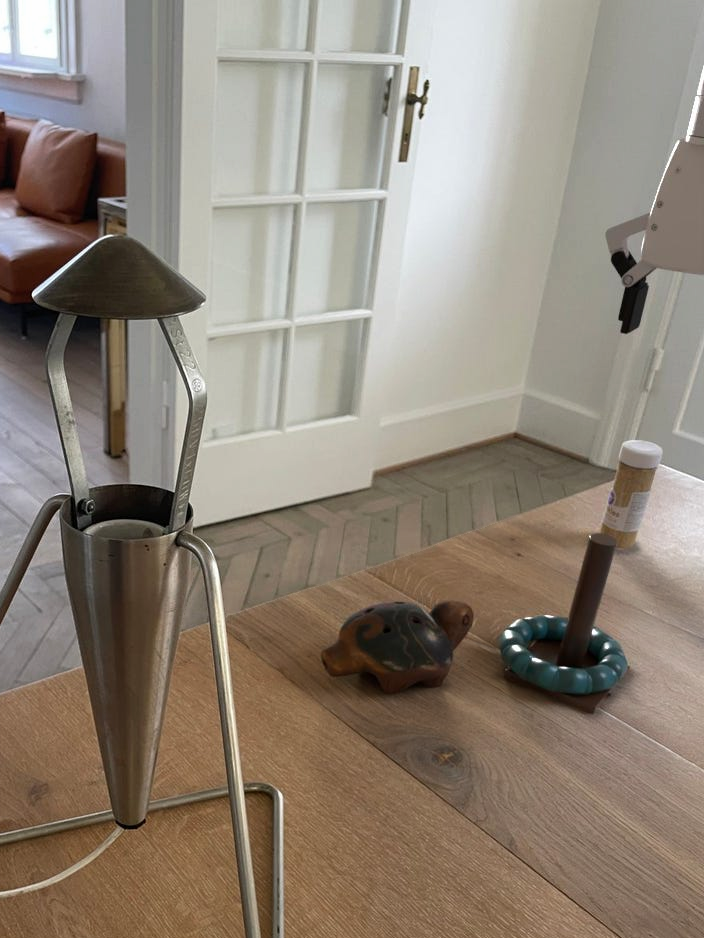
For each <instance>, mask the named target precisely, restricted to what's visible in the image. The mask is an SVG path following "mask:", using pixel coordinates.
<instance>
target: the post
mask: <svg viewBox="0 0 704 938" xmlns="http://www.w3.org/2000/svg"><path fill="white" fill-rule="evenodd" d="M616 546H617V540H616V539H615V538H614V537H612V536H610V535H606V534H600V533H597V532H596V533H592V534H590V535H589V537H588V541H587V544H586V548H585V552H584V556H583V560H582V564H581V568H580V571H579V575H578V578H577V582H576V586H575V589H574V594H573V597H572V602H571V605H570V609H569V612H568V617H567V618H568V620H567V624H566V628H565V632H564V635H563V639H562V641H559V640H549V639H540V640H535V641H533V643H532V644H531V645H530V646H529V647H528V648H526V649H527V650H528V651H529V652H531V653H532V654H533V655H534V656H535V657H536V658H538V659H541V660H543V661H546V662H549V663H551V664H554V665H557V666H560V667H569V668H579V669H584V668H588V667H593V666H597V665H598V664H599V661H598V658H597V657H595V656H594V655H593V654H592V653H590V652H589V651H588V650H587V648H588V645H589V641H590V638H591V634H592V631H593V627H594V626H595V623H596V621H597V616H598V614H599V613H598V612H599V609H600V606H601V602H602V598H603V594H604V591H605V588H606V585H607V581H608V577H609V574H610V570H611V567H612V563H613V559H614V556H615V552H616V549H617V548H616ZM630 669H631V666H630V665H628V668H627V671H626V672H625V674H624V675H623V676H622V678H621V679H620V680H619V681H618V683H617V684H616V685H615V686H614V687H613V688H611V689H607V690H603V691H599V692H595V693H591V694H586V695H580V694H571V693H562V692H553V691H550V690H547V689H545V688H542V687H540V686H537V685H535V684H532V683H530V682H527V681H525V680H523V679H522V678H520V677H519V676H518V675H517V674H516V673H515V672H514V671H513V670H511V669H510V668H509V667H508V666H507V667H506V669H505V671H504V675H503V678H505V679H507V680H509V681H512V682H515V683H517V684H518V685H519V684H520V685H522V686H525V687H527V688H529V689H532V690H533V691H536V692H539V693H541V694H543V695H546V696H548V697H551V698H553V699H555V700H557V701H560V702H563V703H565V704H567V705H570V706H572V707H574V708H577V709H579V710H581V711H585V712H587V713H589V714H592V715H594V714H595V713H596V712H597V711H598V710H599V709H600V707H602V705H603V704H604V703H605V701H607V700H608V698H609V697H610V696H611V692H612V691H613V690H614V688H615V687H616V686H617V685H618V684H619V683H620V681H621V680H623V678H624V677H625V675H627V673H628V672H629V671H630Z"/></svg>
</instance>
